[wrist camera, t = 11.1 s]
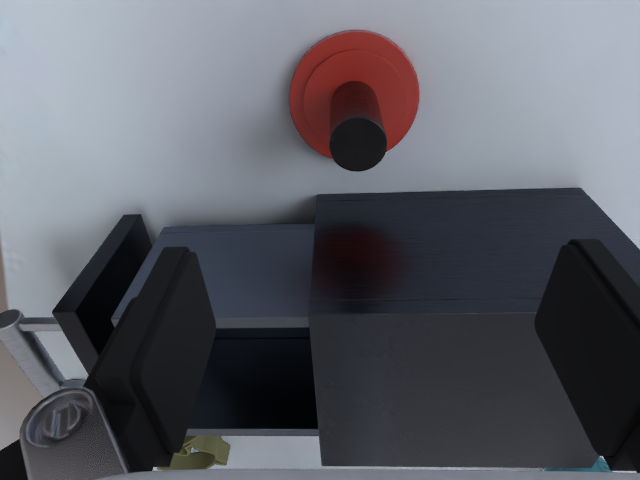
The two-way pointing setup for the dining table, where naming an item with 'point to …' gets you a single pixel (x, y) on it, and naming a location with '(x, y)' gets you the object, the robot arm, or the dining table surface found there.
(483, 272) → the dark grey metal box
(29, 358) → the drawer
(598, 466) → the beverage bottle
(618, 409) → the robot arm
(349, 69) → the lid
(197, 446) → the cookie cutter
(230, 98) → the dining table surface
